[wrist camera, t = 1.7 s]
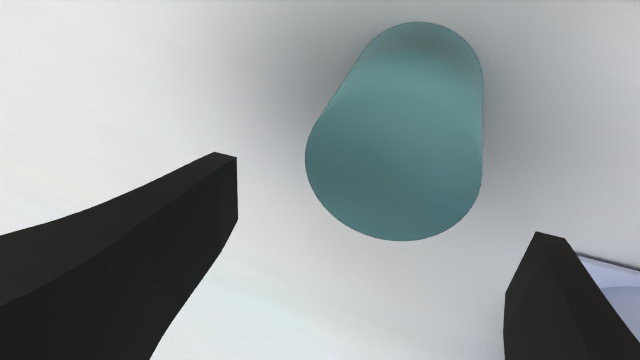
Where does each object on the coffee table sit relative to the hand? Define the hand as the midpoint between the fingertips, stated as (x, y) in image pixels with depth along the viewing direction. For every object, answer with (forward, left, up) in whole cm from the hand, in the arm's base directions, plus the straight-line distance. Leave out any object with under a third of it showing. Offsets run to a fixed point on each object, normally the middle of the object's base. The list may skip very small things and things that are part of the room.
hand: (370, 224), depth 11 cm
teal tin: (0, 0, -9) cm, 9 cm away
